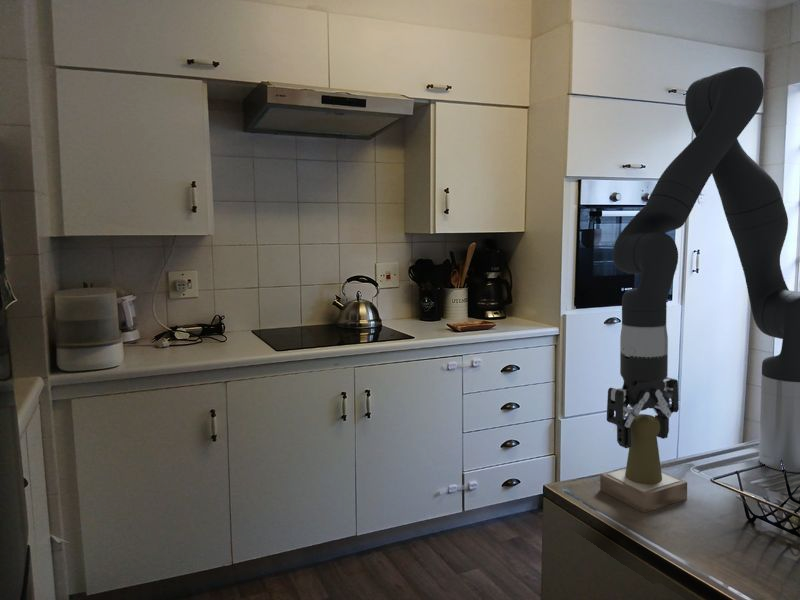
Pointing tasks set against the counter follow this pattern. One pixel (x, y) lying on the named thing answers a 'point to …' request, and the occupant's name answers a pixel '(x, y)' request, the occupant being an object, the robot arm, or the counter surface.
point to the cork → (644, 451)
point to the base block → (643, 490)
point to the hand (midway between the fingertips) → (643, 441)
